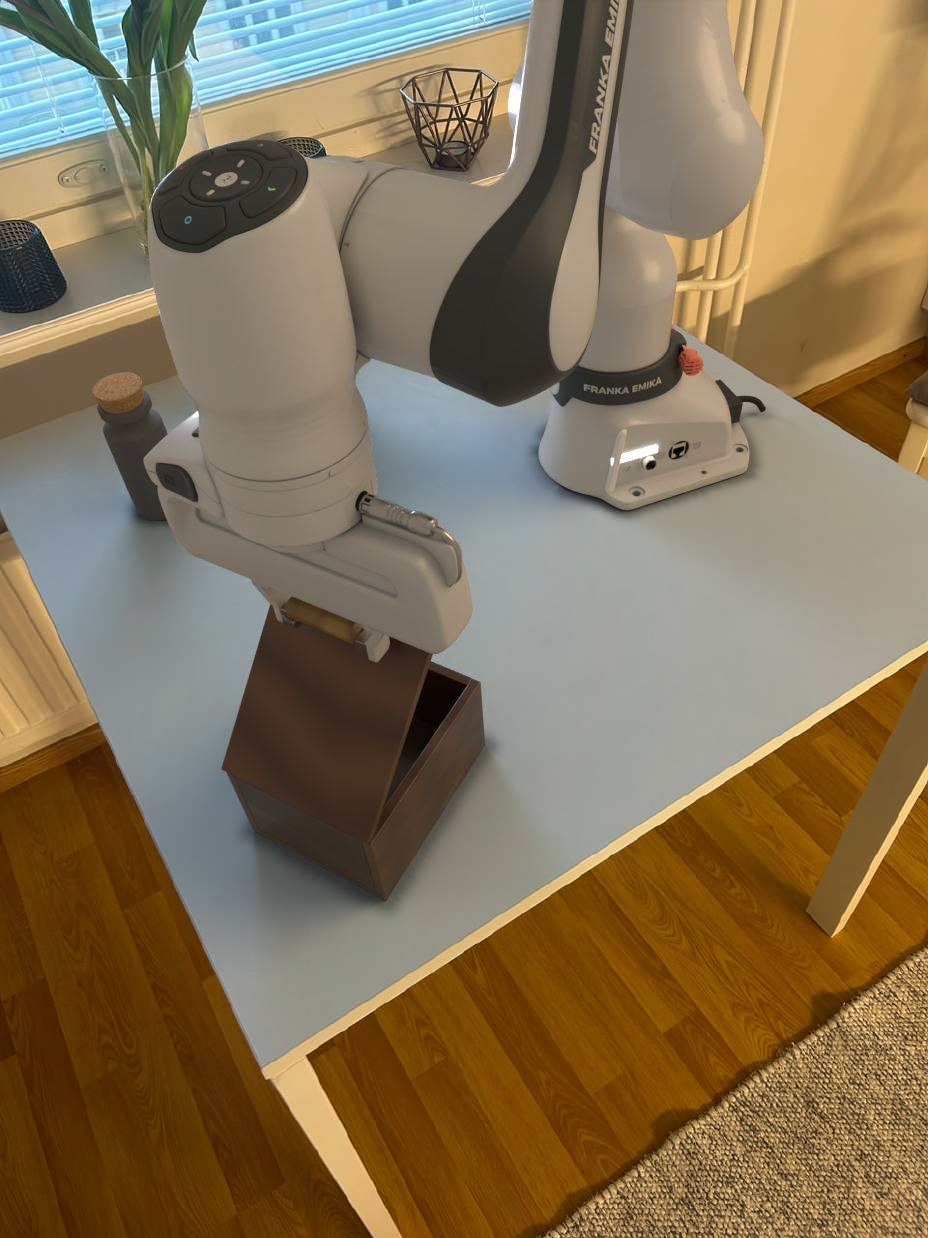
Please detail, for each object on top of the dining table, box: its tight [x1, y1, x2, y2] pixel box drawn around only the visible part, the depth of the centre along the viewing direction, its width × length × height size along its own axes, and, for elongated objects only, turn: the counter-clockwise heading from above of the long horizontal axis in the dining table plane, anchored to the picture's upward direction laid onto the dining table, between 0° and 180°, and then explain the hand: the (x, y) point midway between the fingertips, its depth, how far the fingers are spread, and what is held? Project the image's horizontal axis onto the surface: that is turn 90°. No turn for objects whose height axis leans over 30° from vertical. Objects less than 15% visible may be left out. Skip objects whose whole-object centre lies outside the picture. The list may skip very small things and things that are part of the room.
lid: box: [220, 596, 434, 844], centre depth 62 cm, size 16×13×5 cm
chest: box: [225, 660, 486, 902], centre depth 73 cm, size 16×13×9 cm
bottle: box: [91, 371, 169, 521], centre depth 95 cm, size 6×6×15 cm
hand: (332, 634), depth 62 cm, fingers closed on lid, 5 cm apart
